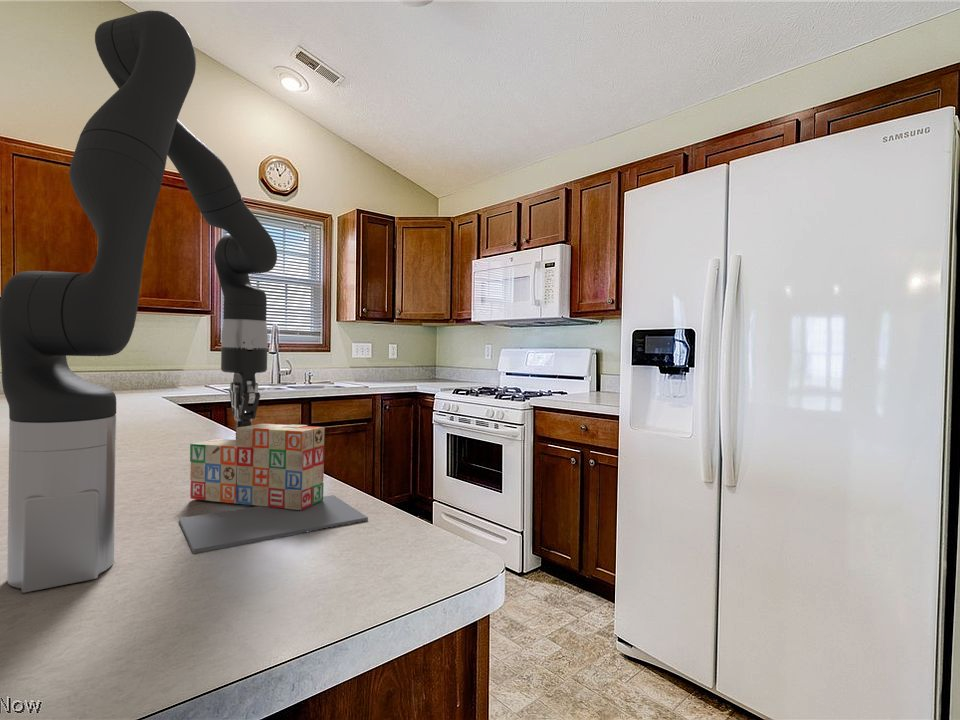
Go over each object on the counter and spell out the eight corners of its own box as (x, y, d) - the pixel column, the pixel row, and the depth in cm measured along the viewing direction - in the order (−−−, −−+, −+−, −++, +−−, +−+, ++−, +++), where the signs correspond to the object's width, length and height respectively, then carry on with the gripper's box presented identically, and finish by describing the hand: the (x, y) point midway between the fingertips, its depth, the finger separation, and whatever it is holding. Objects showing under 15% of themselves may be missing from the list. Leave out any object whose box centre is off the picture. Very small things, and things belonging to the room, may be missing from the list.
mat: (367, 520, 77) (367, 517, 77) (193, 553, 63) (193, 549, 63) (333, 497, 88) (333, 495, 88) (179, 521, 74) (179, 518, 74)
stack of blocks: (188, 500, 84) (189, 425, 84) (217, 491, 90) (218, 421, 90) (301, 510, 78) (302, 429, 79) (324, 500, 85) (325, 425, 85)
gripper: (214, 344, 95) (213, 438, 95) (229, 345, 84) (227, 450, 85) (257, 345, 100) (256, 434, 100) (276, 346, 89) (275, 446, 89)
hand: (243, 441), depth 92 cm, fingers closed
